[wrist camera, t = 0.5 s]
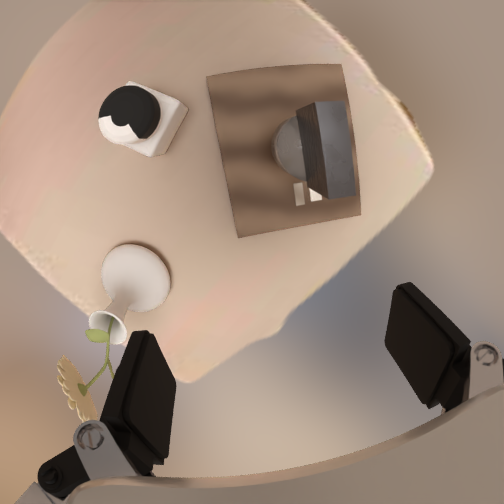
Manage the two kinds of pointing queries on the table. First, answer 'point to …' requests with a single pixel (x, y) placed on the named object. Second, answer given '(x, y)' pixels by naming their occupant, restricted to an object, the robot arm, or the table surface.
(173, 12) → the table surface
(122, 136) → the medicine bottle
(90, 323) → the flower in vase
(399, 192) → the table surface
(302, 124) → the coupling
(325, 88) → the brown wooden board
